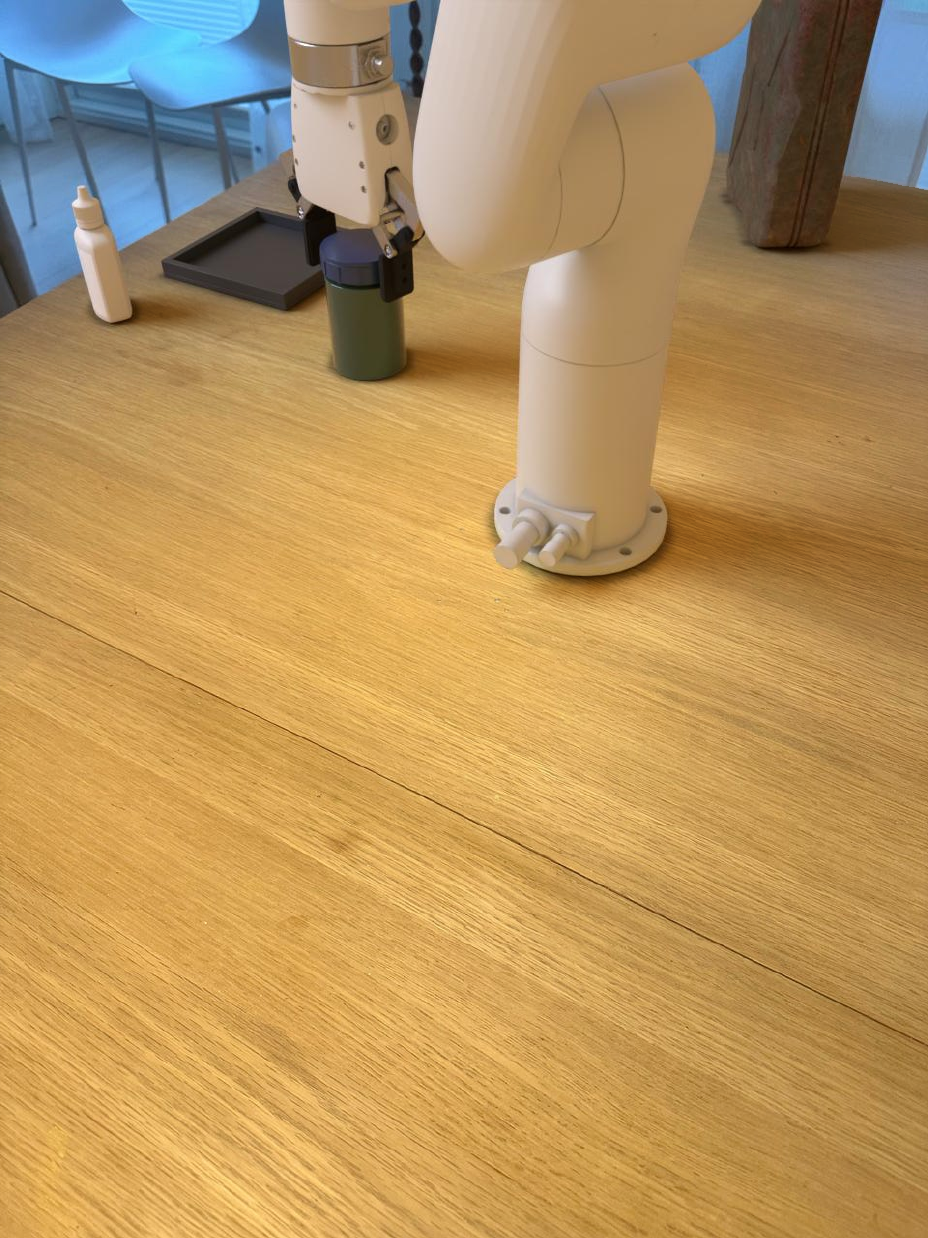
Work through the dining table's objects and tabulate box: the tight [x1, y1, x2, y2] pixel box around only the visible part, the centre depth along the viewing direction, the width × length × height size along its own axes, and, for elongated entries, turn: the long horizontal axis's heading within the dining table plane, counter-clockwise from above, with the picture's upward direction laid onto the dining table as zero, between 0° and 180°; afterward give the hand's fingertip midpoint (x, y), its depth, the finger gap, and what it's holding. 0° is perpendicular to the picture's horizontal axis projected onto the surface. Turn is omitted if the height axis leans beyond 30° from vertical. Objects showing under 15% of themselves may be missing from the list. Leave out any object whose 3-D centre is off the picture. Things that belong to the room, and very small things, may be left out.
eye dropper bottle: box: [71, 184, 133, 324], centre depth 99 cm, size 4×6×12 cm
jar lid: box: [319, 227, 396, 285], centre depth 88 cm, size 7×7×2 cm
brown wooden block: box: [725, 0, 884, 248], centre depth 109 cm, size 19×8×25 cm, turn 1°
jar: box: [324, 275, 408, 381], centre depth 92 cm, size 7×7×10 cm
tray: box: [160, 206, 350, 311], centre depth 109 cm, size 16×16×2 cm
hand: (359, 278), depth 90 cm, fingers open, 9 cm apart
